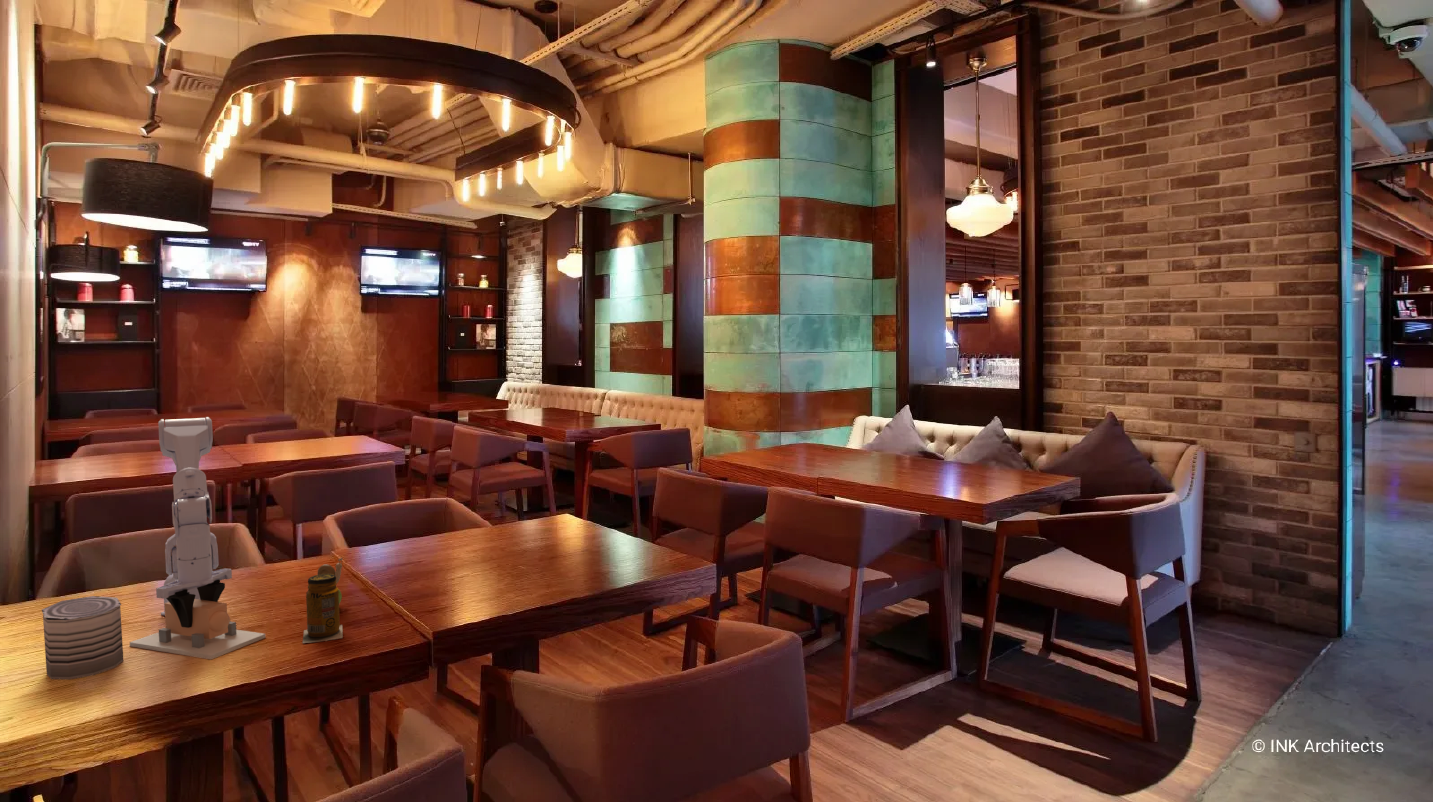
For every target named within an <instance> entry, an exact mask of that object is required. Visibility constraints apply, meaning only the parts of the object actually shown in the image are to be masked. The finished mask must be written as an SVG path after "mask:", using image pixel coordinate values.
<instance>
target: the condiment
mask: <svg viewBox="0 0 1433 802" xmlns="http://www.w3.org/2000/svg"><path fill="white" fill-rule="evenodd" d="M307 579H308V580H307V591H306V594H305V597H306V599H305V600H306V601H305V602H306V623H307V624H306V628H307V629H304V630H303V636H302V644H306V643H308V644H310V643H320V642H324V641H325V642H327V641H332V640H338V639H343V637H344V636H343V632H344V631H343V624H341V623H340V603H339V590H340V589H339V588H338V587H337V584H338V583H336V576H335V575H333V574H320V575H318V574H316V575H313V576H310V577H309V578H307ZM338 589H339V590H338Z"/></svg>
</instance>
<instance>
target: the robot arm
mask: <svg viewBox="0 0 1433 802" xmlns="http://www.w3.org/2000/svg"><path fill="white" fill-rule="evenodd" d="M164 419H165V418H161V419H160V420H159V421H158V422H157V423H158V425H157V426H158V439H159V440H158V442H159V448H160V452H161V454H162V456H163V457H167V458H171V459H172V461H173V464H174V465H175V470H176V473H175V474H174V475H173V478H172V486H173V487H172V488H173V489H172V490H173V501H172V504H171V510H172V511H171V514H172V525H173V528H174V534H173V535H171V536H170V537H168V538H167V540H166V542H165V549H164V554H165V555H164V556H165V557H164V559H165V573H166V574H167V575H168V576H167V577H166V579H165V580H164V582H163V585H162V586H158V587H156V589H155V590H156V599H161V600H162V599H163V609H164V611H162V612H160V615H161V616H165V604H164V603H167V602H170V603H171V605H172V606H173V608H174V609H175V611H176V613H177V615H178V618H179V620H180V623H181V626H182V627H186V628H190V627H192V622H193V615H192V610H193V603H194V599H199V600H207V601H214V602H219V601H220V597H221V595H222V593H223V592H224V590H225V588H226V583H225V582H222V581H224V580H229V579H230V580H231V579H232V578H233V570H232V569H231V568H220V569H217V568H218V567H219V549H218V543H217V536H216V535H215V534H214V533H213V532H211V525H210V524H212V521H213V508H212V507H213V506H212V500H211V498H210V494H209V493H210V492H209V491H208V486H207V485H208V484H207V475H206V474H205V472H204V471H203V470H201V469H200V467H199V466H200V461H201V458H202V456H205V455H207V454H209V453H211V449H212V447H213V442H214V441H213V438H214V433H213V431H214V430H213V421H212V419H211V418H210V417H209V416H205V417H197V418H196V417H195V418H194V417H193V418H176V419H175V418H174V419H165V420H164ZM207 518H208V519H209V523H208V519H207ZM216 569H217V570H216Z"/></svg>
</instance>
